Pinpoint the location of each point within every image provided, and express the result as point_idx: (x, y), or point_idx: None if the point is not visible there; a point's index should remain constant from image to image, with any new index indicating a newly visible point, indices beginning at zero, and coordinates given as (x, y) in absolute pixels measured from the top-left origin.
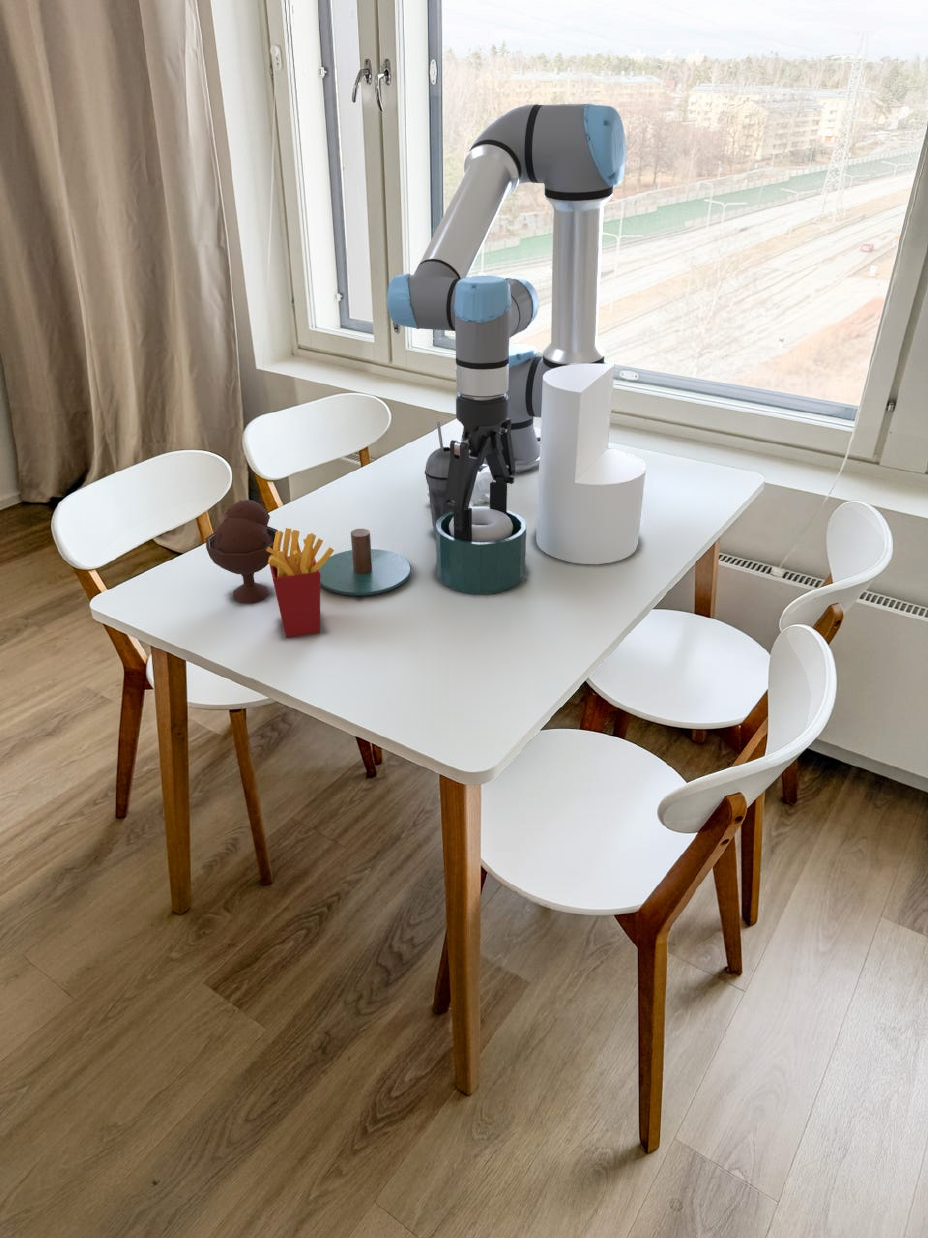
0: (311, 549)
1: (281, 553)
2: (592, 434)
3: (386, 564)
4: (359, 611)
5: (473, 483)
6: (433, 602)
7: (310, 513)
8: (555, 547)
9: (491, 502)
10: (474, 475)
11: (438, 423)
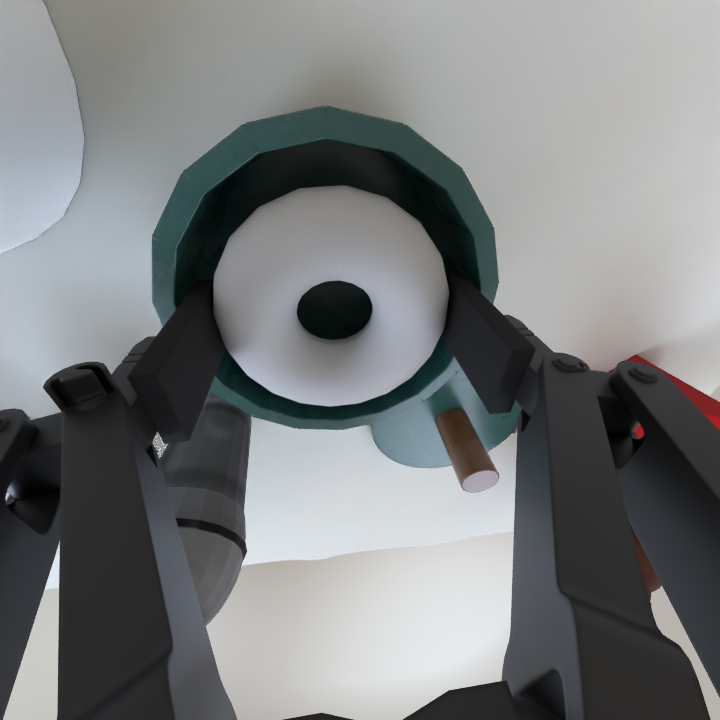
0: None
1: None
2: None
3: (417, 406)
4: (561, 350)
5: (568, 459)
6: (498, 265)
7: (316, 540)
8: (51, 92)
9: (213, 369)
10: (597, 516)
11: None
